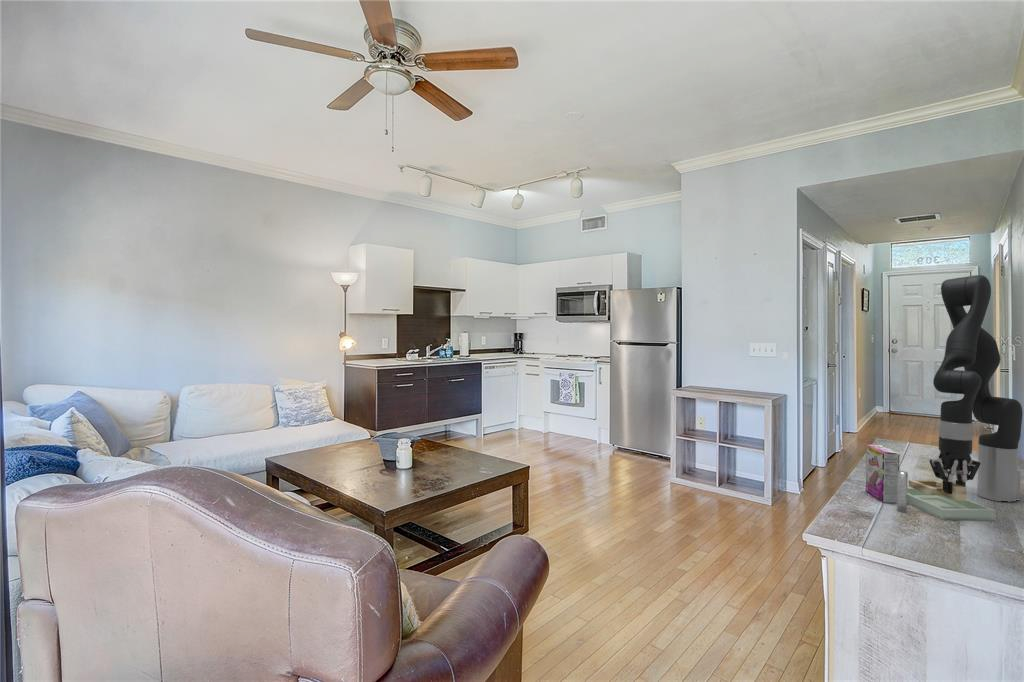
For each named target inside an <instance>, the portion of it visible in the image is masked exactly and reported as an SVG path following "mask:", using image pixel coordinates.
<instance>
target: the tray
mask: <svg viewBox="0 0 1024 682" xmlns="http://www.w3.org/2000/svg"><path fill="white" fill-rule="evenodd" d="M907 505H909V506H912V507H914V508H915V509H918V510H920V511H922V512H925V513H927V514H929V515H931V516H933V517H935V518H937V519H940V520H941V521H996V509H993V508H990V507H988V506H987V505H983V504H981V503H978V502H975V501H972V500H971V499H968V498H966V501H956V500H953V499H951V498H948V497H945V496H942V495H930V494H928V493H925V492H922V491H920V490H917V489H915V488H912V487H907Z"/></svg>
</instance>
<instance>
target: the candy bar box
mask: <svg viewBox="0 0 1024 682" xmlns="http://www.w3.org/2000/svg"><path fill="white" fill-rule="evenodd" d="M865 446H866V447H865V451H866V453H865V492H867V493H868V494H869V493H870V494H869V495H871V496H872V495H873V496H872V497H873V498H875V497H876V498H875V499H877V500H878V499H879V500H878V501H880V502H881V501H882V502H881V503H883V502H884V503H885V504H897V481H898V471H900V452H897V451H895V450H893V449H890V448H889V447H886V446H884V445H882V444H866V445H865Z"/></svg>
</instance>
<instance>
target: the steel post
mask: <svg viewBox="0 0 1024 682" xmlns="http://www.w3.org/2000/svg"><path fill="white" fill-rule="evenodd" d="M908 473H909V472H908V471H904V470H899V471H898V481H897V503H896V511H897V512H901V513H908V504H907V488H908V484H909V479H908V478H909V477H908V476H909V474H908Z"/></svg>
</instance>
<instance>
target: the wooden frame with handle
mask: <svg viewBox="0 0 1024 682" xmlns="http://www.w3.org/2000/svg"><path fill="white" fill-rule="evenodd" d="M908 488H915V489H917V490H920V491H922V492H925V493H928V494H930V495H942V496H945V497H948V498H951V499H953V500H956V501H966V499H967V486H966V487H964V486H961V485H958V484H956V482H953V486H952V494H947V493H945V492H944V491H943V481H940V480H932V479H929V480H927V479H925V480H924V479H923V480H920V479H918V480H917V479H908Z"/></svg>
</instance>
